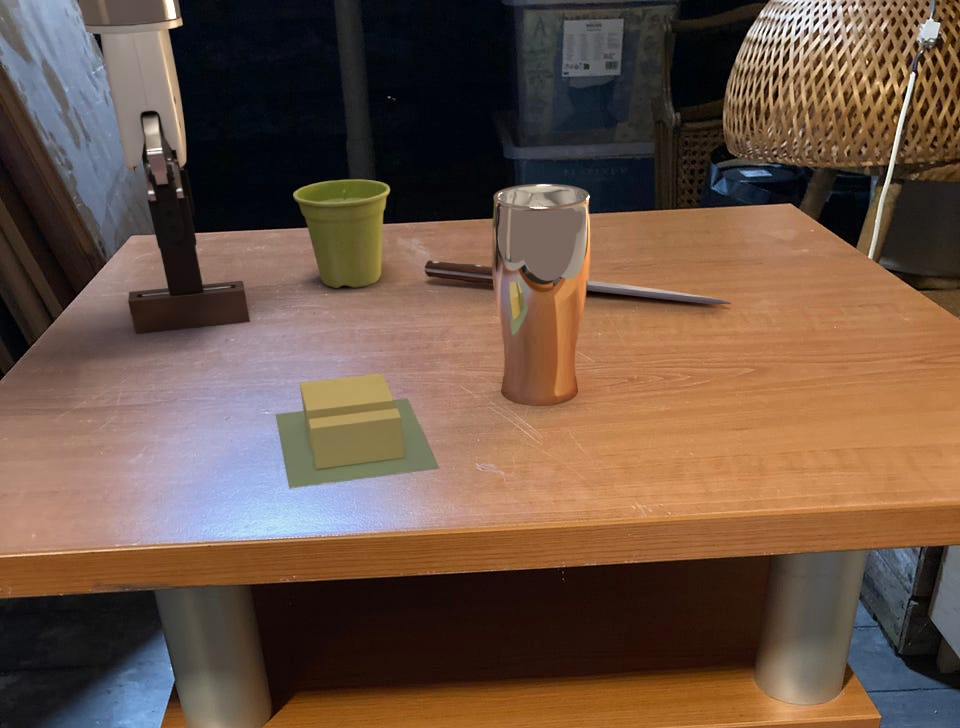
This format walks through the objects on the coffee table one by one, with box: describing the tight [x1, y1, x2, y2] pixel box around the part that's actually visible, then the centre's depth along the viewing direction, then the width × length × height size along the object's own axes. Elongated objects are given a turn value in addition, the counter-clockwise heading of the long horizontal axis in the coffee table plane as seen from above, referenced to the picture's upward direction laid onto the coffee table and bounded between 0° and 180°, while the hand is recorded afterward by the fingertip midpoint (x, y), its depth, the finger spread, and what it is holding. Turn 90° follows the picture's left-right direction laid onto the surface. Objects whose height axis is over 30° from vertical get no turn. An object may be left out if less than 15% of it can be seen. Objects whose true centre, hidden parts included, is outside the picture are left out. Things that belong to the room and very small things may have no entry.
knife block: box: [127, 280, 251, 334], centre depth 93 cm, size 10×3×3 cm, turn 104°
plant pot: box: [292, 178, 391, 289], centre depth 100 cm, size 9×9×9 cm
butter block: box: [299, 372, 395, 451], centre depth 71 cm, size 6×5×3 cm
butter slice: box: [309, 408, 404, 469], centre depth 67 cm, size 6×2×3 cm, turn 103°
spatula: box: [142, 245, 231, 297], centre depth 91 cm, size 8×2×10 cm, turn 104°
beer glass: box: [491, 183, 591, 407], centre depth 72 cm, size 7×7×15 cm
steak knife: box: [424, 260, 732, 305], centre depth 98 cm, size 5×31×2 cm, turn 71°
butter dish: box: [275, 397, 440, 490], centre depth 71 cm, size 10×12×1 cm
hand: (178, 232), depth 89 cm, fingers open, 9 cm apart
